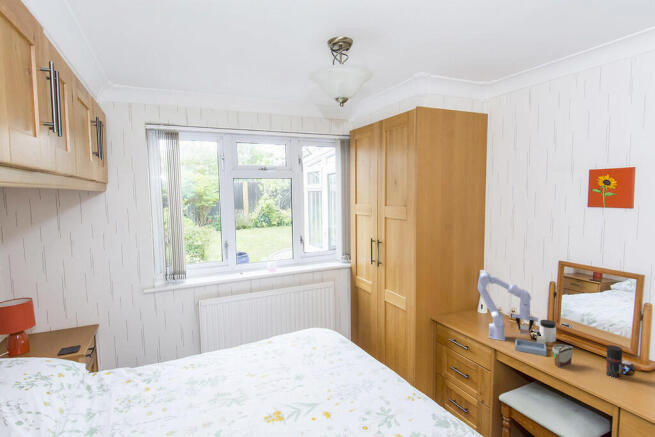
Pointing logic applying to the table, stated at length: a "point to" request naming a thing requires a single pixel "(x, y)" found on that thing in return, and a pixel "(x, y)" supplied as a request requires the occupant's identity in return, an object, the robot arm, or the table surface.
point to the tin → (524, 329)
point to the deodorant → (614, 361)
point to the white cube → (541, 339)
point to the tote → (530, 347)
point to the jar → (548, 330)
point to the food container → (562, 355)
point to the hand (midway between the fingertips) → (524, 330)
